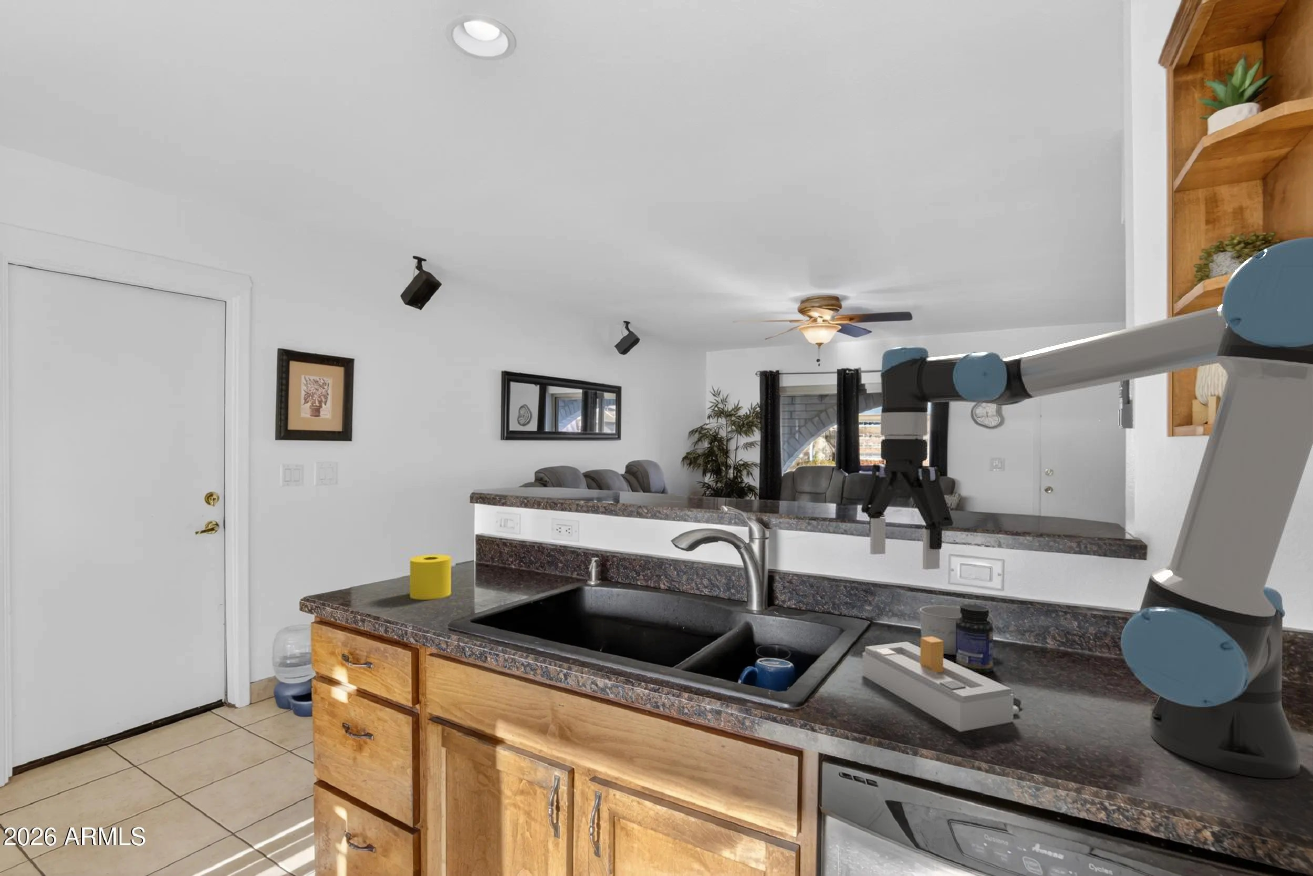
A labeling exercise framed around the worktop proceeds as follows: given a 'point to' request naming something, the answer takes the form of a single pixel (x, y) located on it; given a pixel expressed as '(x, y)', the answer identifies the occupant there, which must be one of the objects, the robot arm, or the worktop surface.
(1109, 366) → the robot arm
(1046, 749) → the worktop surface
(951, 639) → the teacup
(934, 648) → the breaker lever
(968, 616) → the pill bottle
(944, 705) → the slider switch box
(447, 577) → the yellow toilet paper roll
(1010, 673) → the worktop surface
